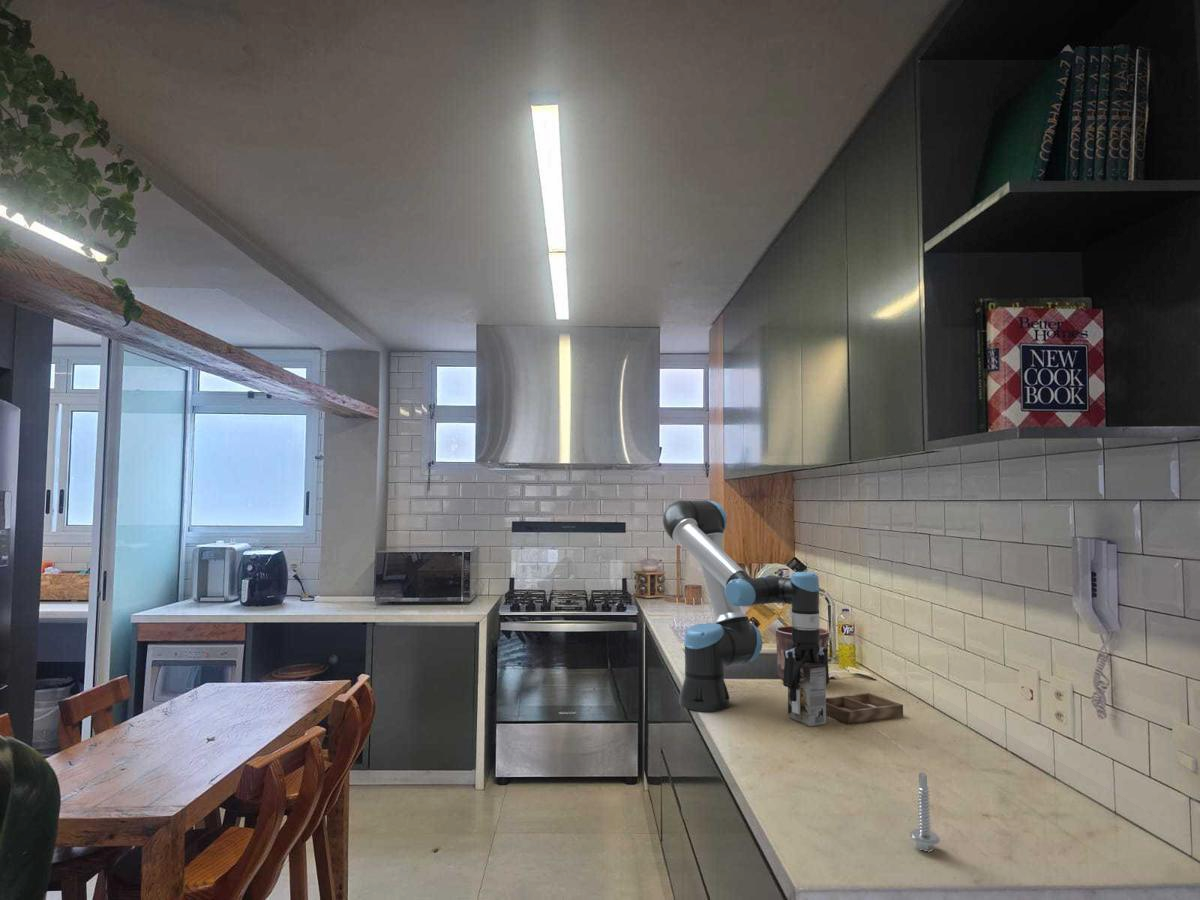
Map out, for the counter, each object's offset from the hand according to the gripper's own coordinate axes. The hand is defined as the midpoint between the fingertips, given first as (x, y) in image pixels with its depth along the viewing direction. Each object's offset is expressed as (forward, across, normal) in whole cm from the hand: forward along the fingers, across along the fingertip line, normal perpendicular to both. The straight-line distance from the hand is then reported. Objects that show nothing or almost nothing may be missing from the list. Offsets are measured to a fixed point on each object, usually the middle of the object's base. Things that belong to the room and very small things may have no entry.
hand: (806, 711), depth 191 cm
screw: (+2, -27, -66) cm, 71 cm away
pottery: (+3, +25, +34) cm, 42 cm away
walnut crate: (+3, +18, 0) cm, 18 cm away
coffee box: (+3, 0, 0) cm, 3 cm away
